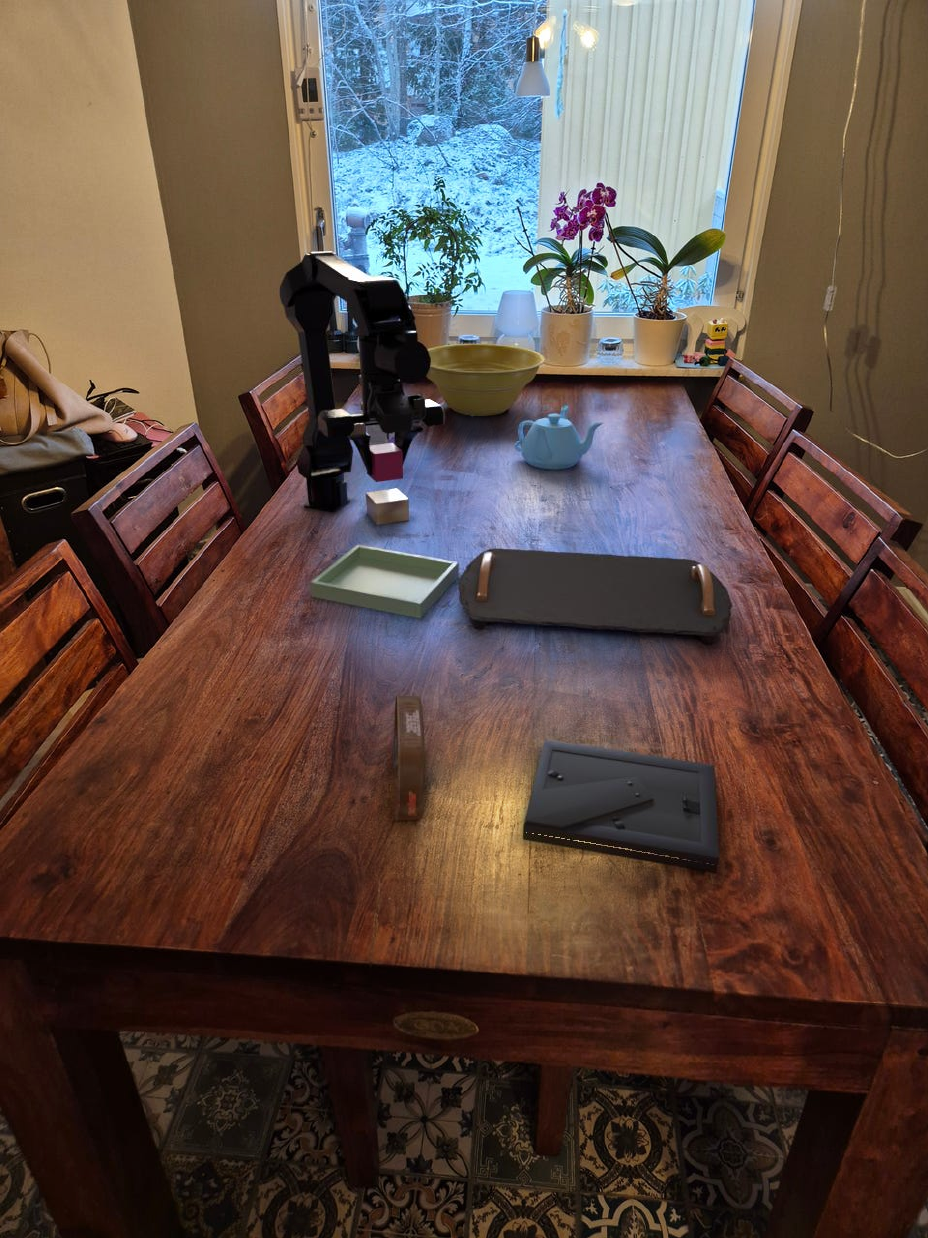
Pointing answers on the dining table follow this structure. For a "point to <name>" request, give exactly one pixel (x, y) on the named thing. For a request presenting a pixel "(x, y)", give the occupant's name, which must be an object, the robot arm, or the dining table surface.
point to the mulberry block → (386, 462)
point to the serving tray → (595, 592)
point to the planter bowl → (482, 376)
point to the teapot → (553, 442)
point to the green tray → (386, 580)
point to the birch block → (387, 506)
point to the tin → (408, 758)
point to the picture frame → (625, 805)
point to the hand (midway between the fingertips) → (384, 472)
